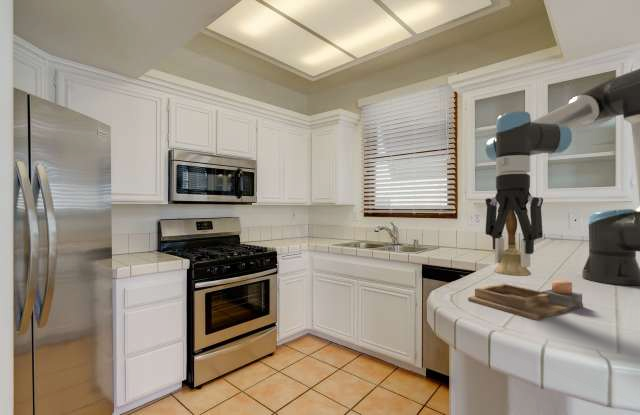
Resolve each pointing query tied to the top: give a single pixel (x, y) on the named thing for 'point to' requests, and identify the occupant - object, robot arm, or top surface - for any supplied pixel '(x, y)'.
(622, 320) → the top surface
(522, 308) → the station
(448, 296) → the top surface
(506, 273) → the hand bell
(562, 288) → the button
